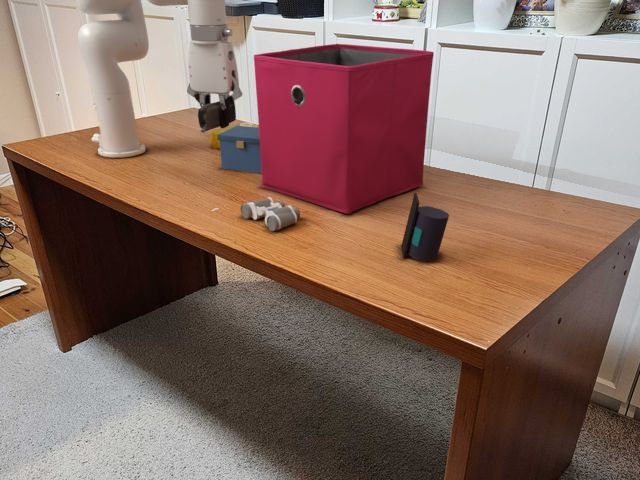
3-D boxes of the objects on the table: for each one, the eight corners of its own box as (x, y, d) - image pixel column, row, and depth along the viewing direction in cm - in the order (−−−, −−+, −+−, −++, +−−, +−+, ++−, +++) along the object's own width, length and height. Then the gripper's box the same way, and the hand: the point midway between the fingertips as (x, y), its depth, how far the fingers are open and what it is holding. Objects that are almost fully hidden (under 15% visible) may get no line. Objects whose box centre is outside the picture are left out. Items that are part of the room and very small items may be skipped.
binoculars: (240, 216, 122) (239, 199, 120) (271, 207, 127) (270, 191, 125) (276, 233, 115) (275, 216, 113) (307, 223, 119) (307, 206, 117)
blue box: (219, 169, 150) (216, 135, 145) (239, 158, 159) (236, 125, 154) (264, 174, 146) (263, 139, 142) (282, 163, 155) (281, 129, 150)
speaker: (392, 257, 105) (403, 200, 100) (401, 246, 110) (412, 191, 104) (433, 268, 103) (447, 211, 98) (441, 257, 108) (454, 202, 102)
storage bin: (255, 188, 138) (247, 52, 122) (336, 162, 155) (338, 41, 140) (346, 218, 122) (350, 66, 106) (425, 186, 139) (439, 51, 124)
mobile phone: (225, 97, 137) (191, 107, 125) (237, 98, 136) (203, 109, 125) (227, 120, 140) (193, 132, 128) (238, 121, 139) (206, 133, 127)
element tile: (208, 146, 168) (207, 129, 166) (247, 137, 178) (246, 120, 175) (245, 156, 160) (244, 138, 157) (283, 145, 170) (283, 128, 167)
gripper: (252, 34, 124) (257, 125, 134) (184, 31, 129) (194, 120, 139) (235, 37, 118) (242, 133, 128) (165, 34, 123) (177, 126, 133)
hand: (217, 125), depth 134 cm, fingers closed on mobile phone, 3 cm apart
